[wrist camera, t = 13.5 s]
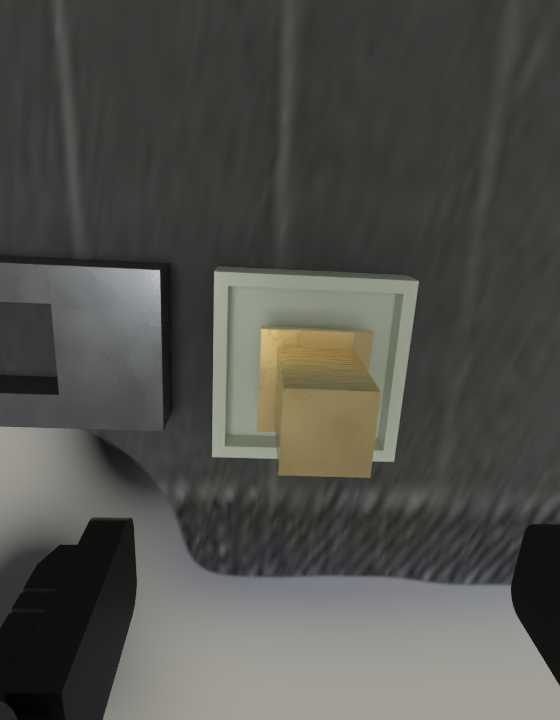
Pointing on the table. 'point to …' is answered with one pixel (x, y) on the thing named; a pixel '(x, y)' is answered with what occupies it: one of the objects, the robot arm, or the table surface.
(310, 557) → the table surface
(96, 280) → the grey metal block
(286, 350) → the brass plug
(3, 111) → the table surface
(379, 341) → the parts tray
